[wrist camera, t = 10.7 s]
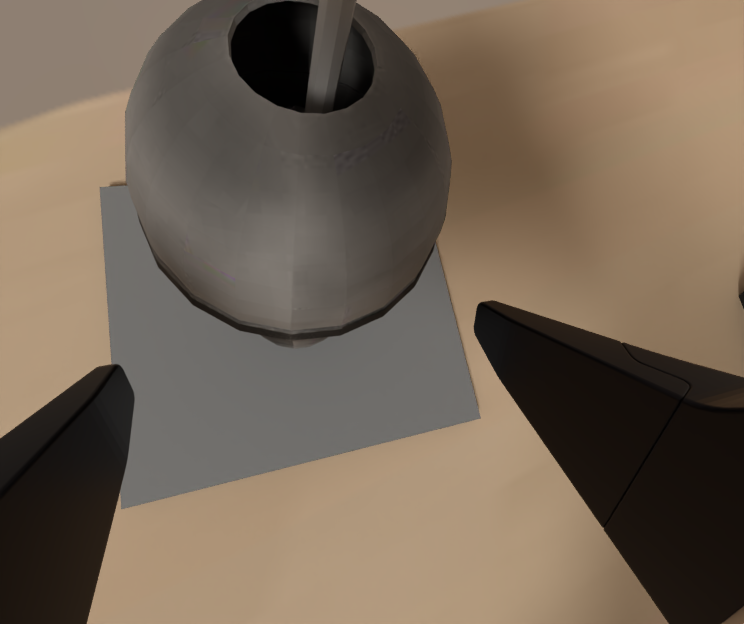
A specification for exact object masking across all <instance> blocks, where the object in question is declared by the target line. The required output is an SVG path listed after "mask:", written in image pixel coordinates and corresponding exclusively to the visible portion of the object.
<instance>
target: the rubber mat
mask: <svg viewBox="0 0 744 624" xmlns="http://www.w3.org/2000/svg"><path fill="white" fill-rule="evenodd" d="M100 199H101V214H102V229H103V243H104V258H105V273H106V288H107V303H108V317H109V332H110V347H111V362H112V364H119V365H120V366H121V367H122V368H123V370H124V372H125V374H126V376H127V378H128V380H129V382H130V384H131V386H132V389H133V391H134V396H135V403H134V411H133V420H132V428H131V437H130V445H129V453H128V460H127V465H126V469H125V474H124V478H123V481H122V485H121V489H120V495H121V509H124V508H128V507H132V506H136V505H140V504H144V503H148V502H152V501H156V500H160V499H164V498H168V497H172V496H176V495H180V494H184V493H188V492H191V491H195V490H199V489H203V488H207V487H211V486H215V485H219V484H223V483H227V482H231V481H235V480H239V479H243V478H247V477H251V476H255V475H259V474H263V473H267V472H271V471H275V470H279V469H282V468H286V467H290V466H294V465H298V464H302V463H306V462H310V461H314V460H318V459H322V458H326V457H330V456H334V455H338V454H342V453H346V452H350V451H354V450H358V449H362V448H366V447H369V446H373V445H377V444H381V443H385V442H389V441H393V440H397V439H401V438H405V437H409V436H413V435H417V434H421V433H425V432H429V431H433V430H437V429H441V428H445V427H449V426H453V425H457V424H460V423H464V422H468V421H472V420H476V419H480V418H481V417H480V413H479V410H478V406H477V402H476V398H475V394H474V390H473V386H472V382H471V378H470V374H469V371H468V367H467V363H466V359H465V355H464V351H463V347H462V343H461V339H460V336H459V332H458V328H457V324H456V320H455V316H454V312H453V308H452V304H451V300H450V297H449V293H448V289H447V285H446V281H445V277H444V273H443V269H442V265H441V262H440V258H439V254H438V250H437V246H436V242H435V246H434V250H433V252H432V254H431V256H430V258H429V260H428V262H427V264H426V266H425V268H424V270H423V272H422V274H421V276H420V278H419V280H418V282H417V284H416V286H415V287H414V288H413V289H412V290H411V291H410V292H409V293H408V294H407V295H406V296H405V297H404V298H402V299H401V300H400V301H399V302H398V303H397V304H396V305H395V306H394V307H393V308H392V309H391V310H390V311H389V312H388V313H386V314H385V315H384V316H383V317H381V318H379V319H377V320H374V321H372V322H370V323H368V324H365V325H363V326H361V327H359V328H357V329H354V330H352V331H350V332H348V333H345V334H343V335H341V336H333V337H328V338H327V339H325V340H324V341H321V342H319V343H317V344H315V345H313V346H310V347H306V348H298V349H292V348H286V347H281V346H278V345H276V344H274V343H272V342H270V341H269V340H267V339H265V338H263V337H262V336H261V335H258V334H253V333H248V332H243V331H239V330H237V329H235V328H233V327H231V326H230V325H228V324H226V323H224V322H222V321H221V320H219V319H217V318H215V317H213V316H211V315H210V314H208V313H206V312H204V311H202V310H201V309H199V308H197V307H195V306H193V305H192V304H191V303H190V302H189V301H188V299H187V298H186V297H185V296H184V295H183V294H182V293H181V292H180V291H179V290H178V289H177V287H176V286H175V285H174V284H173V283H172V282H171V281H170V280H169V279H168V278H167V277H166V275H165V274H164V273H163V272H162V271H161V270H160V269H159V268H158V266H157V264H156V261H155V259H154V256H153V254H152V252H151V249H150V247H149V244H148V242H147V239H146V237H145V235H144V232H143V230H142V227H141V225H140V222H139V218H138V214H137V211H136V208H135V206H134V203H133V201H132V199H131V195H130V192H129V189H128V186H111V187H100Z"/></svg>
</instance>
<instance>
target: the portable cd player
mask: <svg viewBox="0 0 744 624" xmlns="http://www.w3.org/2000/svg"><path fill="white" fill-rule="evenodd" d="M739 298H740V300H741V303H742V306H743V308H744V292H743V293H742V294H740V295H739Z"/></svg>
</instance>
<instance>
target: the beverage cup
mask: <svg viewBox="0 0 744 624" xmlns="http://www.w3.org/2000/svg"><path fill="white" fill-rule="evenodd" d="M125 161H126V183H127V186H128V189H129V192H130V195H131V199H132V201H133V203H134V206H135V208H136V211H137V214H138V218H139V222H140V225H141V227H142V230H143V232H144V235H145V237H146V239H147V242H148V244H149V247H150V249H151V252H152V254H153V256H154V259H155V261H156V264H157V266H158V268H159V269H160V270H161V271H162V272H163V273H164V274H165V275H166V277H167V278H168V279H169V280H170V281H171V282H172V283H173V284H174V285H175V286H176V287H177V289H178V290H179V291H180V292H181V293H182V294H183V295H184V296H185V297H186V298H187V299H188V301H189V302H190V303H191V304H192V305H193V306H195V307H197V308H199V309H201V310H202V311H204V312H206V313H208V314H210V315H211V316H213V317H215V318H217V319H219V320H221V321H222V322H224V323H226V324H228V325H230V326H231V327H233V328H235V329H237V330H239V331H243V332H248V333H253V334H258V335H261V336H262V337H263V338H265V339H267V340H269V341H270V342H272V343H274V344H276V345H278V346H281V347H286V348H292V349H298V348H306V347H310V346H313V345H315V344H317V343H319V342H321V341H324V340H325V339H327V338H328V337H333V336H341V335H343V334H345V333H348V332H350V331H352V330H354V329H357V328H359V327H361V326H363V325H365V324H368V323H370V322H372V321H374V320H377V319H379V318H381V317H383V316H384V315H385V314H386V313H388V312H389V311H390V310H391V309H392V308H393V307H394V306H395V305H396V304H397V303H398V302H399V301H400V300H401V299H402V298H404V297H405V296H406V295H407V294H408V293H409V292H410V291H411V290H412V289H413V288H414V287H415V286H416V284H417V282H418V280H419V278H420V276H421V274H422V272H423V270H424V268H425V266H426V264H427V262H428V260H429V258H430V256H431V254H432V252H433V250H434V246H435V242H436V239H437V237H438V235H439V233H440V231H441V229H442V226H443V223H444V220H445V216H446V208H447V200H448V192H449V184H450V176H451V163H452V160H451V154H450V148H449V142H448V137H447V133H446V128H445V123H444V118H443V114H442V109H441V104H440V102H439V100H438V98H437V96H436V93H435V91H434V89H433V87H432V85H431V83H430V82H429V80H428V78H427V76H426V74H425V73H424V71H423V69H422V67H421V65H420V64H419V62H418V60H417V58H416V56H415V55H414V53H413V52H412V51H411V50H410V49H409V48H408V47H407V46H406V45H405V44H404V42H403V41H402V40H401V39H400V38H399V37H398V36H397V35H396V34H395V33H394V32H393V31H392V30H391V29H390V28H389V27H388V26H387V25H386V24H385V23H384V22H383V21H382V20H381V19H380V18H379V17H378V16H377V15H375V14H373V13H372V12H370V11H369V10H367V9H365V8H364V7H362V6H361V5H359V4H358V3H356V0H202V1H200V2H198V3H197V4H195V5H193V6H191V7H190V8H188V9H187V10H186V11H185V12H184V13H183V14H182V15H181V16H180V17H179V18H178V19H177V20H176V21H175V22H174V23H173V24H172V25H171V26H170V27H169V28H168V29H167V30H166V31H165V32H164V33H162V34H161V35H160V37H159V38H158V40H157V41H156V42H155V44H154V45H153V46H152V48H151V49H150V50H149V52H148V54H147V56H146V59H145V61H144V63H143V66H142V68H141V70H140V73H139V75H138V77H137V80H136V82H135V84H134V87H133V89H132V91H131V94H130V98H129V101H128V104H127V108H126V111H125Z"/></svg>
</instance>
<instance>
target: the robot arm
mask: <svg viewBox="0 0 744 624" xmlns="http://www.w3.org/2000/svg"><path fill="white" fill-rule="evenodd" d="M474 333H475V336H476V337H477V339H478V341H479V343H480V345H481V347H482V349H483V350H484V352H485V354H486V356H487V358H488V360H489V361H490V363H491V365H492V367H493V369H494V371H495V372H496V374H497V376H498V377H499V379H500V380H501V382H502V383H503V385H504V386H505V388H506V389H507V391H508V392H509V394H510V395H511V396H512V398H513V399H514V401H515V402H516V404H517V405H518V406H519V408H520V409H521V411H522V412H523V414H524V415H525V417H526V418H527V419H528V421H529V422H530V424H531V425H532V427H533V428H534V430H535V431H536V432H537V434H538V435H539V437H540V438H541V440H542V441H543V443H544V444H545V445H546V447H547V448H548V450H549V451H550V453H551V454H552V455H553V457H554V458H555V460H556V461H557V463H558V464H559V466H560V467H561V468H562V470H563V471H564V473H565V474H566V476H567V477H568V479H569V480H570V481H571V483H572V484H573V486H574V487H575V489H576V490H577V491H578V493H579V494H580V496H581V497H582V499H583V500H584V502H585V503H586V504H587V506H588V507H589V509H590V510H591V512H592V513H593V515H594V516H595V517H596V519H597V520H598V522H599V523H600V525H601V526H602V527H603V528H604V531H605V532H606V534H607V535H608V537H609V538H610V539H611V541H612V542H613V544H614V545H615V547H616V548H617V549H618V551H619V552H620V554H621V555H622V557H623V558H624V560H625V561H626V562H627V564H628V565H629V567H630V568H631V570H632V571H633V573H634V574H635V575H636V577H637V578H638V580H639V581H640V583H641V584H642V585H643V587H644V588H645V590H646V591H647V593H648V594H649V596H650V597H651V598H652V600H653V601H654V603H655V604H656V606H657V607H658V609H659V610H660V611H661V613H662V614H663V616H664V617H665V619H666V620H667V622H668V623H669V624H742V623H744V377H740V376H736V375H733V374H729V373H726V372H722V371H718V370H715V369H711V368H707V367H704V366H700V365H697V364H693V363H689V362H686V361H682V360H679V359H675V358H672V357H668V356H665V355H662V354H658V353H655V352H652V351H649V350H645V349H642V348H639V347H636V346H633V345H630V344H627V343H621V342H620V341H617V340H614V339H611V338H608V337H605V336H602V335H599V334H596V333H593V332H589V331H586V330H583V329H580V328H577V327H574V326H571V325H568V324H565V323H562V322H559V321H556V320H552V319H549V318H546V317H543V316H540V315H537V314H534V313H531V312H528V311H525V310H522V309H519V308H515V307H512V306H509V305H506V304H503V303H500V302H497V301H493V300H491V301H485V302H481V303H479V304H478V306H477V311H476V317H475V323H474ZM134 403H135V396H134V391H133V389H132V386H131V384H130V382H129V380H128V378H127V376H126V374H125V372H124V370H123V368H122V367H121V366H120V365H119V364H111V365H105V366H99V367H97V368H95V369H94V370H92V371H91V372H90V373H88V374H87V375H86V376H84V377H83V378H82V379H80V380H79V381H78V382H76V383H75V384H73V385H72V386H71V387H69V388H68V389H67V390H65V391H64V392H63V393H61V394H60V395H59V396H57V397H56V398H55V399H53V400H52V401H50V402H49V403H48V404H46V405H45V406H44V407H42V408H41V409H40V410H38V411H37V412H36V413H34V414H33V415H31V416H30V417H29V418H27V419H26V420H25V421H23V422H22V423H21V424H19V425H18V426H17V427H15V428H14V429H13V430H11V431H10V432H8V433H7V434H6V435H4V436H3V437H2V438H0V624H87V620H88V616H89V612H90V608H91V604H92V600H93V596H94V592H95V589H96V585H97V581H98V577H99V573H100V569H101V565H102V561H103V557H104V553H105V549H106V545H107V541H108V537H109V533H110V529H111V525H112V521H113V517H114V513H115V509H116V505H117V501H118V497H119V493H120V489H121V485H122V481H123V478H124V474H125V469H126V465H127V460H128V453H129V445H130V437H131V428H132V420H133V411H134Z"/></svg>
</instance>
